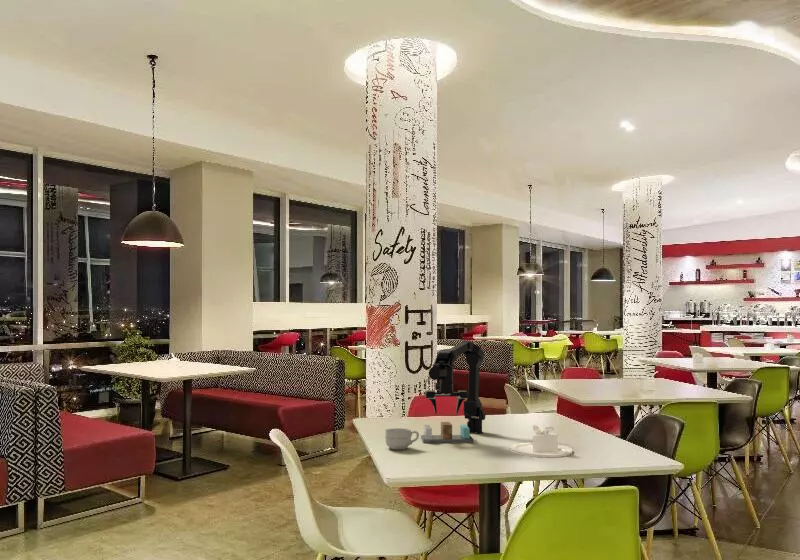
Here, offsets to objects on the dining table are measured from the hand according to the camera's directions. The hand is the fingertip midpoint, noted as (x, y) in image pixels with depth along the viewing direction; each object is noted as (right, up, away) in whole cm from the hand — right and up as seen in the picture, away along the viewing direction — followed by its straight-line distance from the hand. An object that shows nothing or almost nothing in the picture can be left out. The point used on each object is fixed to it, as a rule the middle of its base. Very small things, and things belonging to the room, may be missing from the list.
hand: (446, 414), depth 285 cm
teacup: (-20, -11, -19) cm, 29 cm away
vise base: (0, -12, -1) cm, 12 cm away
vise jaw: (+8, -10, 0) cm, 13 cm away
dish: (+37, -11, -20) cm, 44 cm away
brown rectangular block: (0, -10, 0) cm, 10 cm away
